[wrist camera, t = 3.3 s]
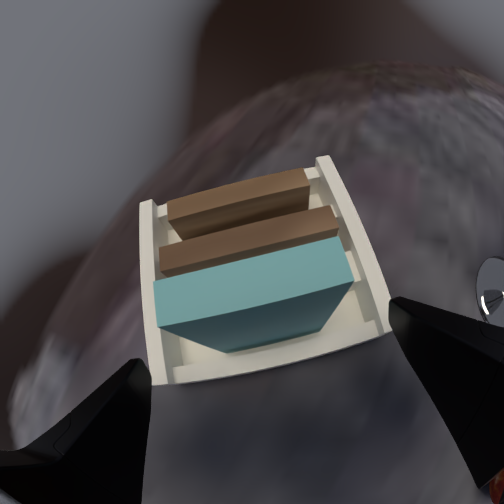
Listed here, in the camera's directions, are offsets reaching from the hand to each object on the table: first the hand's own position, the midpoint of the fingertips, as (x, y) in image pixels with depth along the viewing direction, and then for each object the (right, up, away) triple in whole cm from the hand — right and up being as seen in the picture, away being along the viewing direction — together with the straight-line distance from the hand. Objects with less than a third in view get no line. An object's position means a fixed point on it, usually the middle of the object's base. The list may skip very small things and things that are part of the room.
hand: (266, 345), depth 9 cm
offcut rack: (0, +1, +11) cm, 11 cm away
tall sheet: (+1, -2, +8) cm, 8 cm away
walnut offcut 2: (0, +2, +10) cm, 10 cm away
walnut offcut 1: (-1, +5, +12) cm, 13 cm away
